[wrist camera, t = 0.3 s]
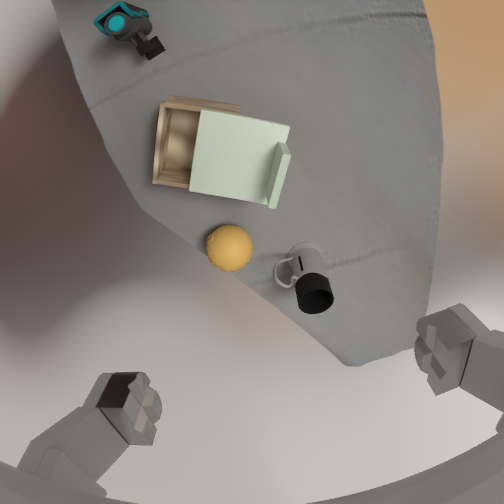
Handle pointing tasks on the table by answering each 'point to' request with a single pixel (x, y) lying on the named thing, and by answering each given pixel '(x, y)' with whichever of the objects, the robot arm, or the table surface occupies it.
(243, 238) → the stress ball
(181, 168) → the wooden box
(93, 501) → the robot arm
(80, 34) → the table surface
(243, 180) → the lid
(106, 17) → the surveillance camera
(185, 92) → the table surface
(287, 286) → the glass holder
